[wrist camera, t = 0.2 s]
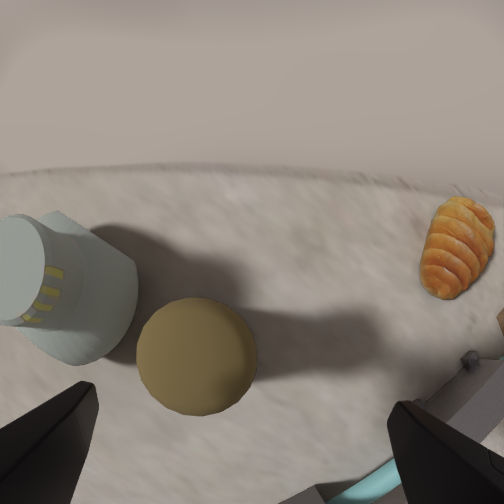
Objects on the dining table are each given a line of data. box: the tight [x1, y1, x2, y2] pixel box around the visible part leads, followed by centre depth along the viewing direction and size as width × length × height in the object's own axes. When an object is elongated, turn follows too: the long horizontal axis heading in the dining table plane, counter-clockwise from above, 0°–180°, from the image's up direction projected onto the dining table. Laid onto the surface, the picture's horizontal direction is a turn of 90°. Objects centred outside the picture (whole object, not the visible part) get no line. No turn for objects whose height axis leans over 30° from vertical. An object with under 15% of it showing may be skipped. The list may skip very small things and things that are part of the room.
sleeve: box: [413, 351, 504, 444], centre depth 20 cm, size 6×8×5 cm
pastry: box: [420, 196, 495, 300], centre depth 24 cm, size 9×7×4 cm
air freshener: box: [0, 211, 138, 366], centre depth 18 cm, size 11×8×10 cm
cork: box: [136, 297, 257, 416], centre depth 17 cm, size 6×6×11 cm
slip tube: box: [279, 356, 504, 504], centre depth 17 cm, size 4×24×8 cm, turn 120°
